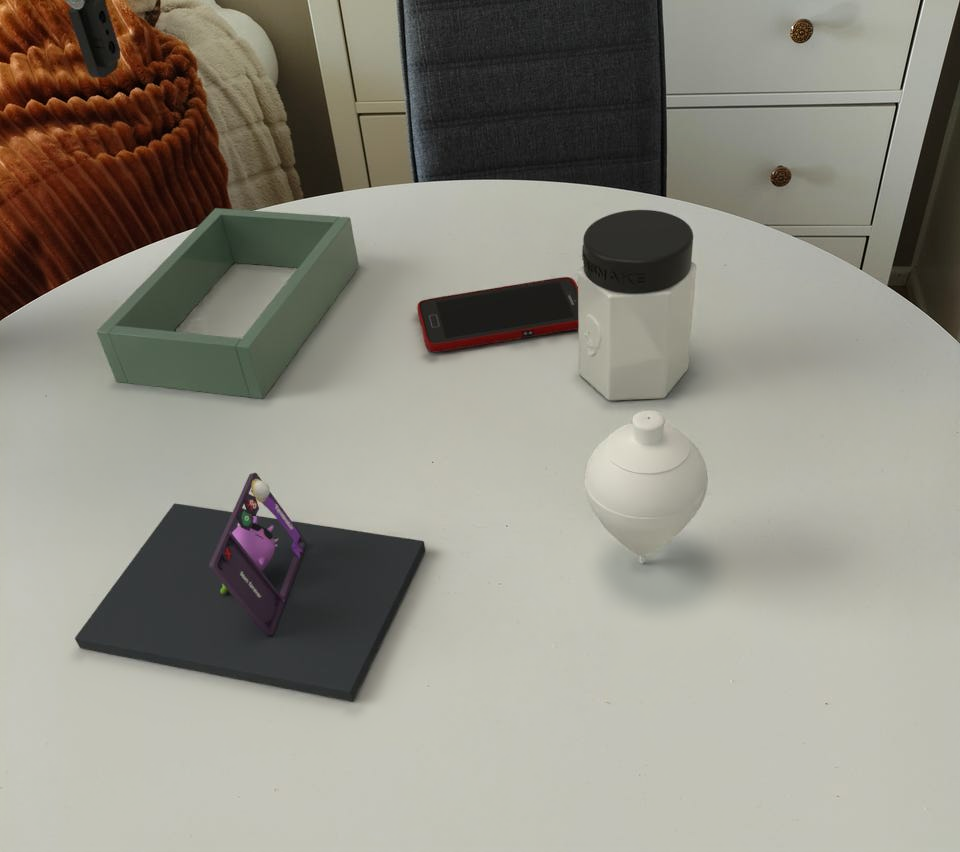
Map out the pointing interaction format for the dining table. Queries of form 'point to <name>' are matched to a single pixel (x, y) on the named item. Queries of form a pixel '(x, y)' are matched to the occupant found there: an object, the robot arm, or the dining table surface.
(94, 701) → the dining table surface
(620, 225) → the jar
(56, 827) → the dining table surface
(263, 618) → the game card
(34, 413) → the dining table surface
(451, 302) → the cell phone
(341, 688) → the mat
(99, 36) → the robot arm
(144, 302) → the green rectangular tray frame
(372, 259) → the dining table surface
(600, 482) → the spinning top
